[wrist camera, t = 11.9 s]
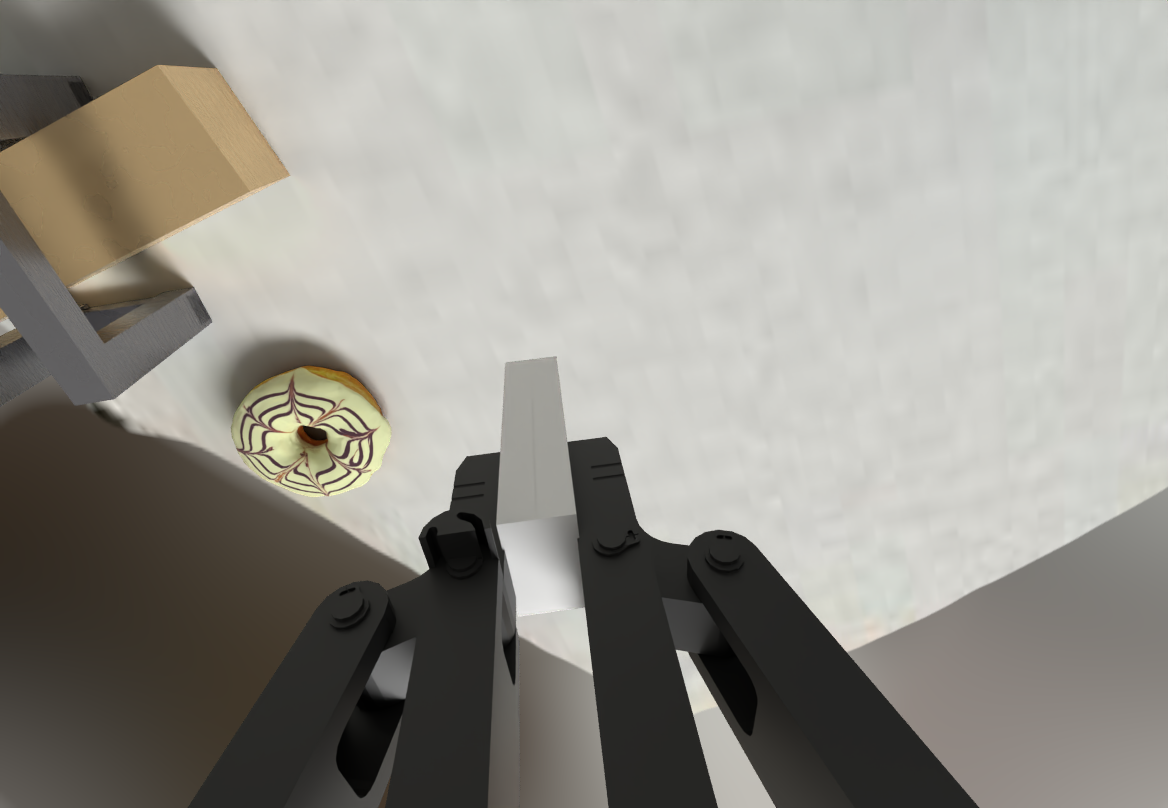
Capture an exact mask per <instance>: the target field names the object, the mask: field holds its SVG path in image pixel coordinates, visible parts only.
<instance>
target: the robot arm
mask: <svg viewBox="0 0 1168 808" xmlns="http://www.w3.org/2000/svg"><path fill="white" fill-rule="evenodd" d="M419 541H420V544H421V546H422V549H423V552H424V555H425V557H426V560H427V563H428V566H429V568H430V569H429V570H428V571H426V572H425V573H424V574H422V575H421V576H419V577H417V578H415V579H413V580H412V581H409V582H407V583H405V584H402V585H400V586H397V587H395V588H392V589H390V590H387V591H386V590H385V589H384V588H383V587H382V586H380V584H378V583H374V582H371V581H360V582H353V583H351V584H349V585H346V586H343V587H341V588H339V589H338V590H336V591H335V592H333V593H332V594H330V595H329V596H327V597H326V598H325V600H324V601H323V602H322V603H321V604H320V605H319V606H318V608H317V609H316V610H315V612H314V613H313V615H312V617H311V618H310V620H309V621H308V623H307V624H306V626H305V627H304V629H303V630H302V632H301V633H300V635H299V637H298V638H297V640H296V641H295V643H294V644H293V646H292V647H291V649H290V650H289V652H288V654H287V655H286V657H285V658H284V660H283V661H282V663H281V664H280V666H279V667H278V669H277V671H276V672H275V674H274V675H273V677H272V678H271V680H270V681H269V683H268V684H267V686H266V688H265V689H264V691H263V692H262V694H261V695H260V697H259V698H258V700H257V701H256V703H255V705H254V706H253V708H252V709H251V711H250V712H249V714H248V715H247V717H246V719H245V720H244V721H243V723H242V725H241V726H240V728H239V729H238V731H237V732H236V734H235V736H234V737H233V739H232V740H231V742H230V743H229V745H228V746H227V748H226V749H225V751H224V752H223V754H222V756H221V757H220V759H219V760H218V762H217V763H216V765H215V766H214V768H213V770H212V771H211V772H210V774H209V776H208V777H207V779H206V780H205V782H204V783H203V785H202V786H201V788H200V790H199V791H198V793H197V794H196V796H195V797H194V799H193V800H192V802H191V803H190V805H189V806H188V808H378V806H379V804H380V801H381V799H382V796H383V794H384V791H385V789H386V786H387V783H388V781H389V778H390V776H391V779H390V785H389V790H388V796H387V801H386V807H385V808H519V807H520V804H519V803H520V802H519V797H520V796H519V791H520V790H519V789H520V788H519V787H520V784H519V783H520V782H519V781H520V777H519V773H520V771H519V770H520V768H519V767H520V763H519V761H520V760H519V759H520V758H519V757H520V753H519V750H520V743H519V742H520V739H519V738H520V736H519V734H520V733H519V732H520V730H519V729H520V728H519V727H520V724H519V723H520V722H519V721H520V711H519V708H520V707H519V706H520V705H519V704H520V695H519V694H520V690H519V689H520V687H519V686H520V682H519V681H520V673H519V671H520V670H519V669H520V668H519V666H520V661H519V660H520V659H519V658H520V654H519V653H520V647H519V646H520V643H519V637H518V632H517V628H516V608H517V612H518V616H519V617H520V616H527V615H534V614H541V613H548V612H555V611H562V610H569V609H576V608H583V607H585V610H586V619H587V627H588V636H589V644H590V653H591V661H592V670H593V678H594V687H595V695H596V704H597V712H598V721H599V729H600V738H601V746H602V755H603V763H604V772H605V780H606V788H607V797H608V806H609V808H718V806H717V803H716V799H715V795H714V791H713V788H712V784H711V780H710V776H709V773H708V769H707V765H706V762H705V758H704V754H703V750H702V747H701V743H700V739H699V735H698V732H697V728H696V724H695V720H694V717H693V713H692V709H691V705H690V702H689V698H688V694H687V691H686V687H685V683H684V679H683V676H682V672H681V668H680V664H679V661H678V657H677V653H676V650H682V651H687V652H688V653H689V655H690V657H691V659H692V661H693V662H694V664H695V666H696V668H697V669H698V671H699V673H700V675H701V676H702V678H703V680H704V682H705V683H706V685H707V687H708V689H709V690H710V692H711V694H712V696H713V698H714V699H715V701H716V703H717V705H718V706H719V708H720V710H721V711H722V713H723V715H724V717H725V719H726V720H727V722H728V724H729V725H730V727H731V729H732V731H733V732H734V734H735V736H736V738H737V740H738V741H739V743H740V745H741V747H742V748H743V750H744V752H745V754H746V755H747V757H748V759H749V761H750V762H751V764H752V766H753V768H754V770H755V771H756V773H757V775H758V776H759V778H760V780H761V782H762V784H763V785H764V787H765V789H766V790H767V792H768V794H769V796H770V798H771V799H772V801H773V803H774V805H775V806H776V808H979V807H978V806H977V805H976V803H975V802H974V801H973V800H972V799H971V797H970V796H969V795H968V794H967V793H966V792H965V790H964V789H963V788H962V787H961V786H960V785H959V783H958V782H957V781H956V780H955V779H954V778H953V776H952V775H951V774H950V773H949V772H948V771H947V769H946V768H945V767H944V766H943V765H942V764H941V762H940V761H939V760H938V759H937V758H936V757H935V756H934V754H933V753H932V752H931V751H930V749H929V748H928V747H927V746H926V745H925V744H924V742H923V741H922V740H921V739H920V738H919V737H918V735H917V734H916V733H915V732H914V731H913V730H912V728H911V727H910V726H909V725H908V724H907V723H906V721H905V720H904V719H903V718H902V717H901V716H900V714H899V713H898V712H897V711H896V710H895V709H894V707H893V706H892V705H891V704H890V703H889V701H888V700H887V699H886V698H885V697H884V696H883V694H882V693H881V692H880V691H879V690H878V689H877V688H876V686H875V685H874V684H873V683H872V682H871V680H870V679H869V678H868V677H867V676H866V675H865V673H864V672H863V671H862V670H861V669H860V668H859V667H858V665H857V664H856V663H855V662H854V660H852V658H851V657H850V656H849V655H848V653H847V652H846V651H845V650H844V649H843V648H842V646H841V645H840V644H839V643H838V642H837V641H836V639H835V638H834V637H833V636H832V635H831V634H830V632H829V631H828V630H827V629H826V628H825V627H824V625H823V624H822V623H821V622H820V621H819V620H818V618H817V617H816V616H815V615H814V614H813V612H812V611H811V610H810V609H809V608H808V607H807V605H806V604H805V603H804V602H803V601H802V600H801V598H800V597H799V596H798V595H797V594H796V593H795V591H794V590H793V589H792V588H791V587H790V586H789V584H788V583H787V582H786V581H785V580H784V579H783V577H782V576H781V575H780V574H779V573H778V571H777V570H776V569H775V568H774V567H773V566H772V564H771V563H770V562H769V561H768V560H767V559H766V557H765V556H764V555H763V554H762V553H761V552H760V550H759V549H758V548H757V547H756V546H755V545H754V544H753V543H752V542H751V541H749V540H748V539H747V538H746V537H744V536H742V535H739V534H737V533H734V532H732V531H723V530H715V531H709V532H705V533H703V534H701V535H699V536H698V537H696V538H695V539H694V540H693V541H692V543H691V544H690V546H688V545H681V544H673V543H668V542H663V541H660V540H658V539H655V538H653V537H651V536H650V535H649V534H647V533H646V532H645V531H644V530H643V529H642V528H641V527H640V526H639V524H638V521H637V519H636V516H635V512H634V508H633V504H632V501H631V497H630V493H629V489H628V485H627V481H626V478H625V474H624V470H623V466H622V463H621V459H620V455H619V451H618V448H617V447H616V446H615V445H614V444H613V443H612V442H611V441H610V440H609V439H608V438H607V437H602V438H595V439H587V440H579V441H572V442H567V435H566V428H565V420H564V412H563V404H562V396H561V389H560V381H559V373H558V365H557V357H548V358H540V359H532V360H524V361H515V362H507V363H505V379H504V397H503V414H502V432H501V449H500V452H498V453H490V454H482V455H475V456H467V457H466V458H465V460H464V461H463V462H462V464H461V465H460V466H459V468H458V469H457V470H456V475H455V481H454V489H453V493H452V501H451V505H450V510H449V511H445V512H443V513H441V514H440V515H438V516H436V517H434V518H433V519H432V520H431V521H430V522H429V523H428V524H426V525H425V526H424V527H423V529H422V532H421V534H420V536H419ZM391 773H392V774H391Z"/></svg>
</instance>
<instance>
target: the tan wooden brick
mask: <svg viewBox="0 0 1168 808" xmlns="http://www.w3.org/2000/svg"><path fill="white" fill-rule="evenodd" d="M288 176H290V175H289V173H288V172H287V170H286V169H285V167H284V166H283V164H282V163H281V161H280V160H279V158H278V157H277V156H276V154H275V153H274V151H273V150H272V148H271V147H270V145H269V144H268V142H267V141H266V139H265V138H264V136H263V135H262V134H261V132H260V131H259V129H258V128H257V126H256V125H255V123H254V122H253V120H252V119H251V117H250V116H249V115H248V113H247V112H246V110H245V109H244V107H243V106H242V104H241V103H240V101H239V100H238V98H237V97H236V96H235V94H234V93H233V91H232V90H231V88H230V87H229V85H228V84H227V82H226V81H225V79H224V78H223V77H222V75H221V74H220V72H219V71H218V69H217V68H201V67H184V66H168V65H156V66H154V67H153V68H151V69H149V70H147V71H145V72H144V73H142V74H140V75H138V76H136V77H135V78H133V79H131V80H129V81H127V82H126V83H124V84H122V85H120V86H118V87H117V88H115V89H113V90H111V91H109V92H108V93H106V94H104V95H102V96H100V97H99V98H97V99H95V100H93V101H91V102H90V103H88V104H86V105H84V106H82V107H81V108H79V109H77V110H75V111H74V112H72V113H70V114H68V115H66V116H65V117H63V118H61V119H59V120H57V121H56V122H54V123H52V124H50V125H48V126H47V127H45V128H43V129H41V130H39V131H38V132H36V133H34V134H32V135H30V136H29V137H27V138H25V139H23V140H21V141H20V142H18V143H16V144H14V145H12V146H11V147H9V148H7V149H5V150H3V151H2V152H0V190H1V192H2V193H3V195H4V196H5V198H6V199H7V201H8V202H9V204H10V205H11V207H12V208H13V210H14V211H15V213H16V214H17V216H18V217H19V219H20V220H21V222H22V223H23V225H24V226H25V228H26V229H27V230H28V232H29V233H30V235H31V236H32V238H33V239H34V241H35V242H36V244H37V245H38V247H39V248H40V250H41V251H42V253H43V254H44V256H45V257H46V259H47V260H48V262H49V263H50V265H51V266H52V267H53V269H54V270H55V272H56V273H57V275H58V276H59V278H60V279H61V281H62V282H63V284H64V285H65V287H66V288H67V289H69V288H71V287H73V286H75V285H77V284H79V283H81V282H83V281H84V280H86V279H88V278H90V277H92V276H94V275H96V274H98V273H100V272H102V271H104V270H106V269H108V268H110V267H112V266H114V265H116V264H118V263H120V262H122V261H124V260H126V259H128V258H130V257H131V256H133V255H135V254H137V253H139V252H141V251H143V250H145V249H147V248H149V247H151V246H153V245H155V244H157V243H159V242H161V241H163V240H165V239H167V238H169V237H171V236H173V235H175V234H176V233H178V232H180V231H182V230H184V229H186V228H188V227H190V226H192V225H194V224H196V223H198V222H200V221H202V220H204V219H206V218H208V217H210V216H212V215H214V214H216V213H218V212H220V211H222V210H223V209H225V208H227V207H229V206H231V205H233V204H235V203H237V202H239V201H241V200H243V199H245V198H247V197H249V196H251V195H253V194H255V193H257V192H259V191H261V190H263V189H265V188H267V187H268V186H270V185H272V184H274V183H276V182H278V181H280V180H282V179H284V178H286V177H288ZM6 319H8V317H7V315H6V314H5V313H4V312H3V310H2V309H1V308H0V322H1V321H4V320H6Z"/></svg>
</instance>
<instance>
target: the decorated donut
mask: <svg viewBox="0 0 1168 808" xmlns="http://www.w3.org/2000/svg"><path fill="white" fill-rule="evenodd" d="M302 425H305V426H310V427H315V428H321V429H323V430H325V431H326V432H327V439H326V440H319V441H317V440H314V439H311V438H310V437H309V436H308V435H307V434H306V433H305V432H304V430H303V428H304V427H303V426H302ZM231 433H232V439H233V440H234V442H235V445H236V449H237V451H238V453H239V455H240V456H241V457H242V459H243V461H244V463H245V464H246V465H247V466H248V467H249V468H250V469H251V470H253V471H254V472H255V473H256V474H257V475H259V476H260V477H261V478H263V479H265V480H266V481H269V482H271V483H273V484H275V485H277V486H280V487H282V488H284V489H287V490H289V491H292V492H294V493H297V494H301V495H304V496H309V497H319V496H332V495H337V494H340V493H343V492H346V491H348V490H351V489H354V488H357V487H361V486H363V485H364V484H365V483H366V482H367V481H369V479H370V476H371V475H372V473H373V472H375V471H377V470H378V469H379V468H380V467H381V463H382V458H383V455H384V453H385V451H386V448H387V447H388V445H389V443H390V438H391V427H390V424H389V422H388V421H387V419H386V418H385V417H383V415H382V412H381V409H380V407H379V406H378V405H377V402H376V401H375V399H374V398H373V396H372V395H371V394H370V392H369V391H368V390H367V389H366V388H365V387H364V386H363V385H362V384H361V383H360V382H359V381H358V380H357V379H355V378H353V377H352V376H351V375H349V374H348V373H346V372H343V371H334V370H332V369H327V368H322V367H315V366H303V367H299V368H296V369H293V370H289V371H286V372H284V373H282V374H279V375H276V376H273V377H271V378H269V379H267V380H265V381H263V382H261V383H260V384H258V385H257V386H255V387H254V388H253V389H252V390H251V391H250V392H249V393H248V395H246V397H245V398H244V399H243V401H242V402H241V404H240V405H239V407H238V409H237V410H236V412H235V414H234V417H233V423H232V426H231Z"/></svg>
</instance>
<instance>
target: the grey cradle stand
mask: <svg viewBox="0 0 1168 808" xmlns="http://www.w3.org/2000/svg"><path fill="white" fill-rule="evenodd" d="M91 101H93V100H92V98H91V96H90V95H89V93H88V91H87V89H86V87H85V85H84V83H83V82H82V80H81V78H80V77H76V76H36V75H0V141H1V140H10V139H20V138H27V137H29V136H30V135H32V134H34V133H36V132H38V131H39V130H41V129H43V128H45V127H47V126H48V125H50V124H52V123H54V122H56V121H57V120H59V119H61V118H63V117H65V116H66V115H68V114H70V113H72V112H74V111H75V110H77V109H79V108H81V107H82V106H84V105H86V104H88V103H90V102H91ZM0 308H1V309H2V310H3V312H4V313H5V314H6V315H7V317H8V318H9V319H10V321H11V322H12V323H13V325H14V326H15V327H16V329H14V330H12V331H10V332H7V333H5V334H4V335H1V336H0V406H2V405H4V404H5V403H7V402H8V401H10V400H12V399H13V398H15V397H16V396H18V395H20V394H21V393H23V392H24V391H26V390H28V389H29V388H31V387H32V386H34V385H36V384H37V383H39V382H40V381H42V380H44V379H45V378H47V377H48V376H50V375H52V376H53V377H54V379H55V380H56V381H57V382H58V384H59V385H60V386H61V388H62V389H63V390H64V391H65V393H66V394H67V396H68V397H69V398H70V400H71V401H72V402H73V403H74V405H81V404H87V403H94V402H100V401H106V400H112V399H115V398H116V397H118V396H119V395H120V394H121V393H123V392H124V391H125V390H126V389H128V388H129V387H130V386H132V385H133V384H134V383H135V382H137V381H138V380H139V379H141V378H142V377H143V376H144V375H146V374H147V373H148V372H149V371H151V370H152V369H153V368H155V367H156V366H157V365H158V364H160V363H161V362H162V361H163V360H165V359H166V358H167V357H169V356H170V355H171V354H172V353H174V352H175V351H176V350H178V349H179V348H180V347H181V346H183V345H184V344H185V343H186V342H188V341H189V340H190V339H192V338H193V337H194V336H195V335H197V334H198V333H199V332H200V331H202V330H203V329H204V328H206V327H207V326H208V325H209V324H211V323H212V320H211V319H210V317H209V315H208V313H207V311H206V309H205V307H204V306H203V304H202V302H201V300H200V298H199V296H198V294H197V293H196V291H195V289H194V288H187V289H181V290H175V291H168V292H163V293H161V294H159V295H158V296H156V297H154V298H148V299H142V300H135V301H129V302H123V303H116V304H110V305H103V306H97V307H91V308H89V307H88V305H87V304H85V305H77V303H76V302H75V300H74V299H73V297H72V296H71V294H70V293H69V291H68V290H67V288H66V287H65V285H64V284H63V282H62V281H61V279H60V278H59V276H58V275H57V273H56V272H55V270H54V269H53V267H52V266H51V265H50V263H49V262H48V260H47V259H46V257H45V256H44V254H43V253H42V251H41V250H40V248H39V247H38V245H37V244H36V242H35V241H34V239H33V238H32V236H31V235H30V233H29V232H28V230H27V229H26V228H25V226H24V225H23V223H22V222H21V220H20V219H19V217H18V216H17V214H16V213H15V211H14V210H13V208H12V207H11V205H10V204H9V202H8V201H7V199H6V198H5V196H4V195H3V193H2V192H1V190H0Z"/></svg>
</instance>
